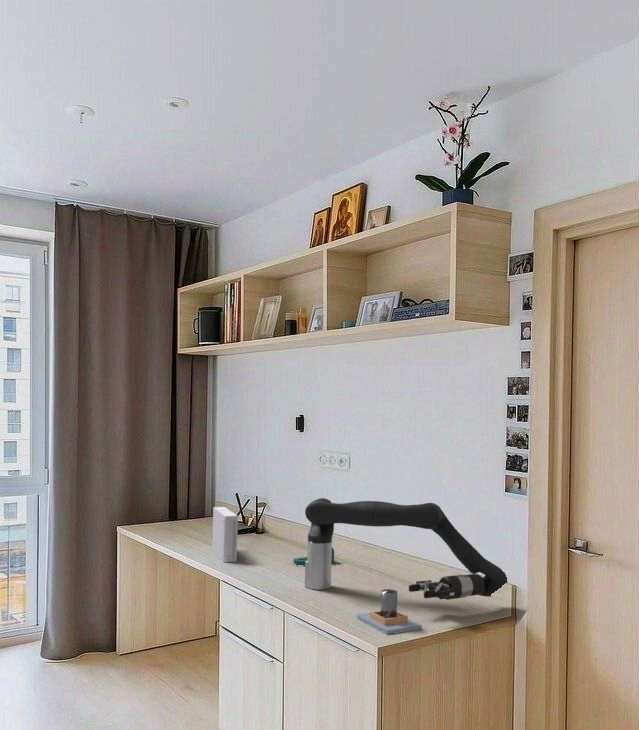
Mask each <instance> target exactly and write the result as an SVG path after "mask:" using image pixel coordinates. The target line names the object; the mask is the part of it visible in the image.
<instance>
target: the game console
mask: <svg viewBox="0 0 639 730" xmlns="http://www.w3.org/2000/svg"><path fill="white" fill-rule="evenodd" d="M212 510H213V511H212V512H213V513H212V519H213V520H212V544H211V545H212V551H213V552H214V554H216V556H218V558H219V559H220V560H221V561H222V562H223V563H237V561H238V527H239V524H238V523H239V516H238V515H237V514H236V513H234V512H232V511H231V510H230V509H228V508H227V507H226V506H214V507H213V509H212Z"/></svg>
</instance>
